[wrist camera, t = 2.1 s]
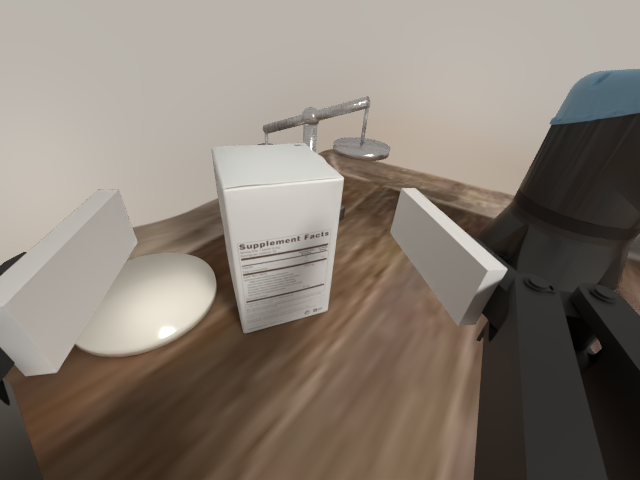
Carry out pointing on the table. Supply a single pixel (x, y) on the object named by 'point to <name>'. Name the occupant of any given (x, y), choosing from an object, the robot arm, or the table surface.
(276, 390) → the table surface
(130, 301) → the cream dish
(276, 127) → the balance
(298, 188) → the supplement box
